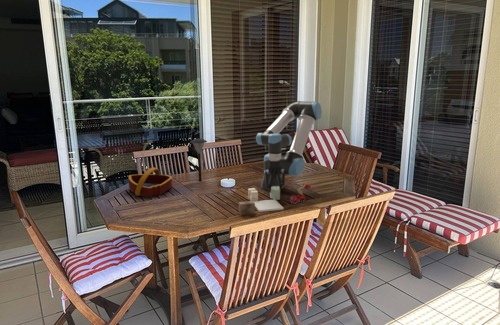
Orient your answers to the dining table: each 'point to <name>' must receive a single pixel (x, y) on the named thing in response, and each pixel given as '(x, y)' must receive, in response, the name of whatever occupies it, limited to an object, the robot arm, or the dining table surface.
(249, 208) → the walnut brick
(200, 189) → the dining table surface
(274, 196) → the sage brick
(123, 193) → the dining table surface
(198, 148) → the solar garden light
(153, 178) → the decorative basket
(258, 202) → the grey plate
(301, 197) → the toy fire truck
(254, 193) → the birch brick
